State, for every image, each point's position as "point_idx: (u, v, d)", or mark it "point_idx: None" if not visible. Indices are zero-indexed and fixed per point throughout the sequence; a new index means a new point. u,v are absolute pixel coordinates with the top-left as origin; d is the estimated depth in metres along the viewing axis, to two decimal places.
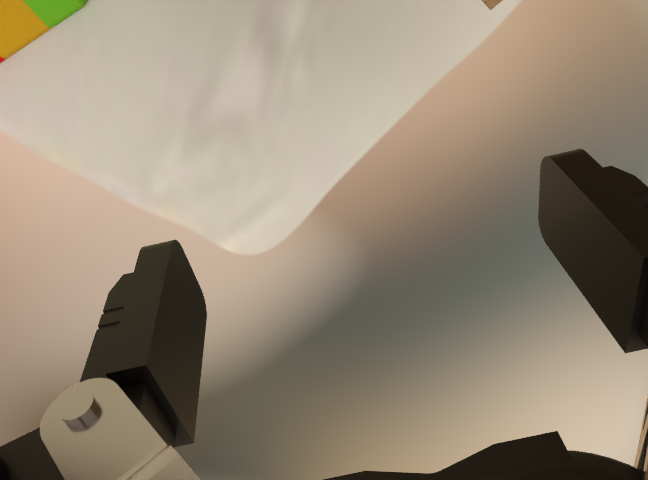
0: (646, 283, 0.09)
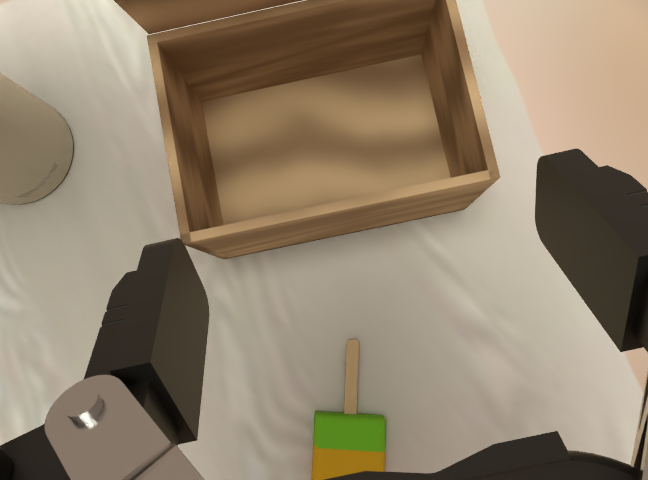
0: (641, 282, 0.09)
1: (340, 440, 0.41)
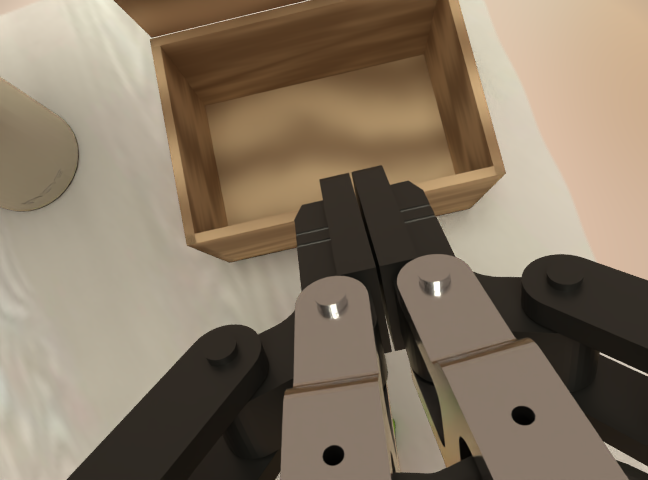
0: (390, 288, 0.10)
1: None
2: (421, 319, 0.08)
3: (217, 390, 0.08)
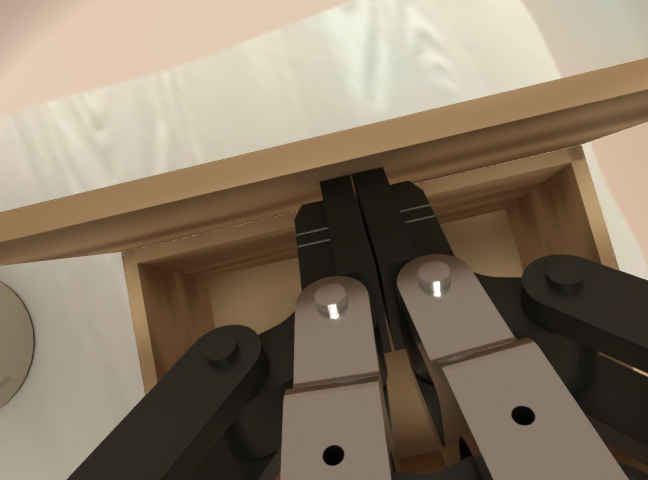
0: (390, 288, 0.10)
1: None
2: (421, 319, 0.08)
3: (217, 390, 0.08)
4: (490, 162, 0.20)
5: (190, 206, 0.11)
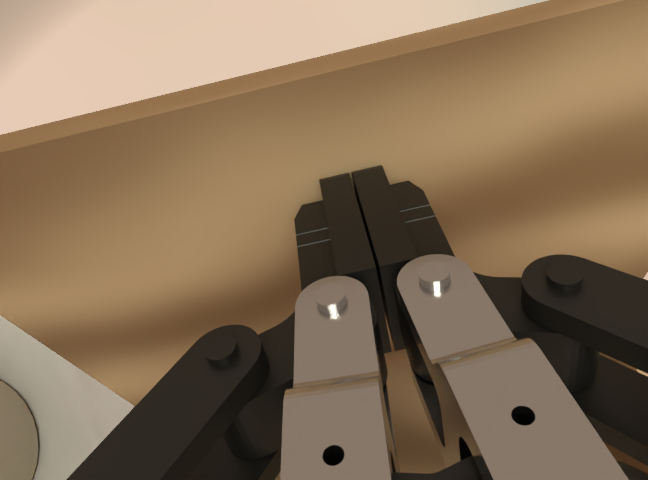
0: (390, 288, 0.10)
1: None
2: (421, 319, 0.08)
3: (217, 390, 0.08)
4: None
5: (182, 168, 0.11)
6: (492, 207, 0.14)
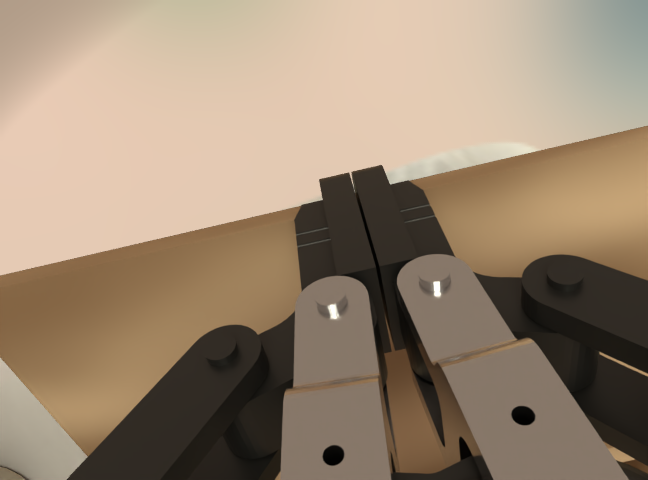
0: (390, 288, 0.10)
1: None
2: (421, 319, 0.08)
3: (217, 390, 0.08)
4: None
5: (228, 284, 0.14)
6: None
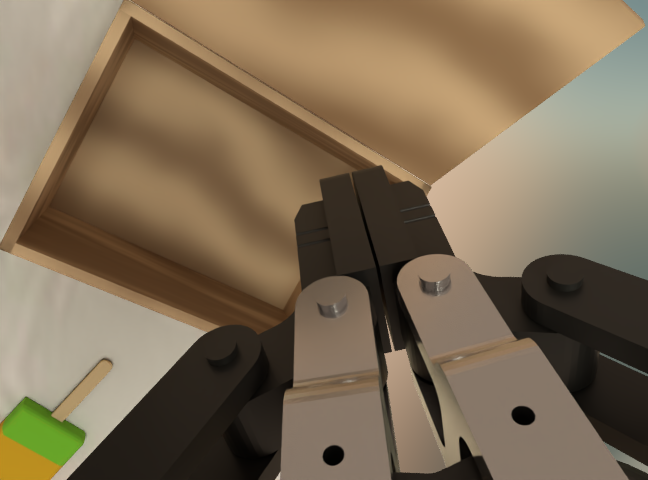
0: (390, 288, 0.10)
1: (29, 439, 0.40)
2: (421, 319, 0.08)
3: (217, 390, 0.08)
4: (404, 124, 0.30)
5: None
6: (453, 35, 0.26)
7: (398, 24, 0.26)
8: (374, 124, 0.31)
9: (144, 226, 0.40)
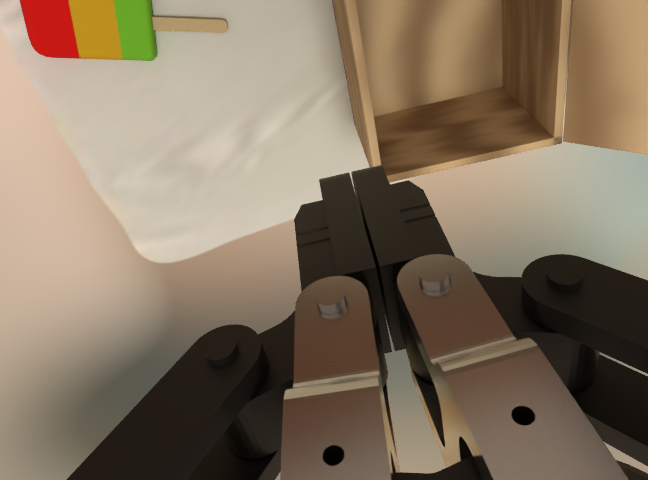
0: (390, 288, 0.10)
1: (125, 16, 0.41)
2: (421, 319, 0.08)
3: (217, 390, 0.08)
4: (608, 88, 0.36)
5: None
6: None
7: None
8: (592, 68, 0.36)
9: None
